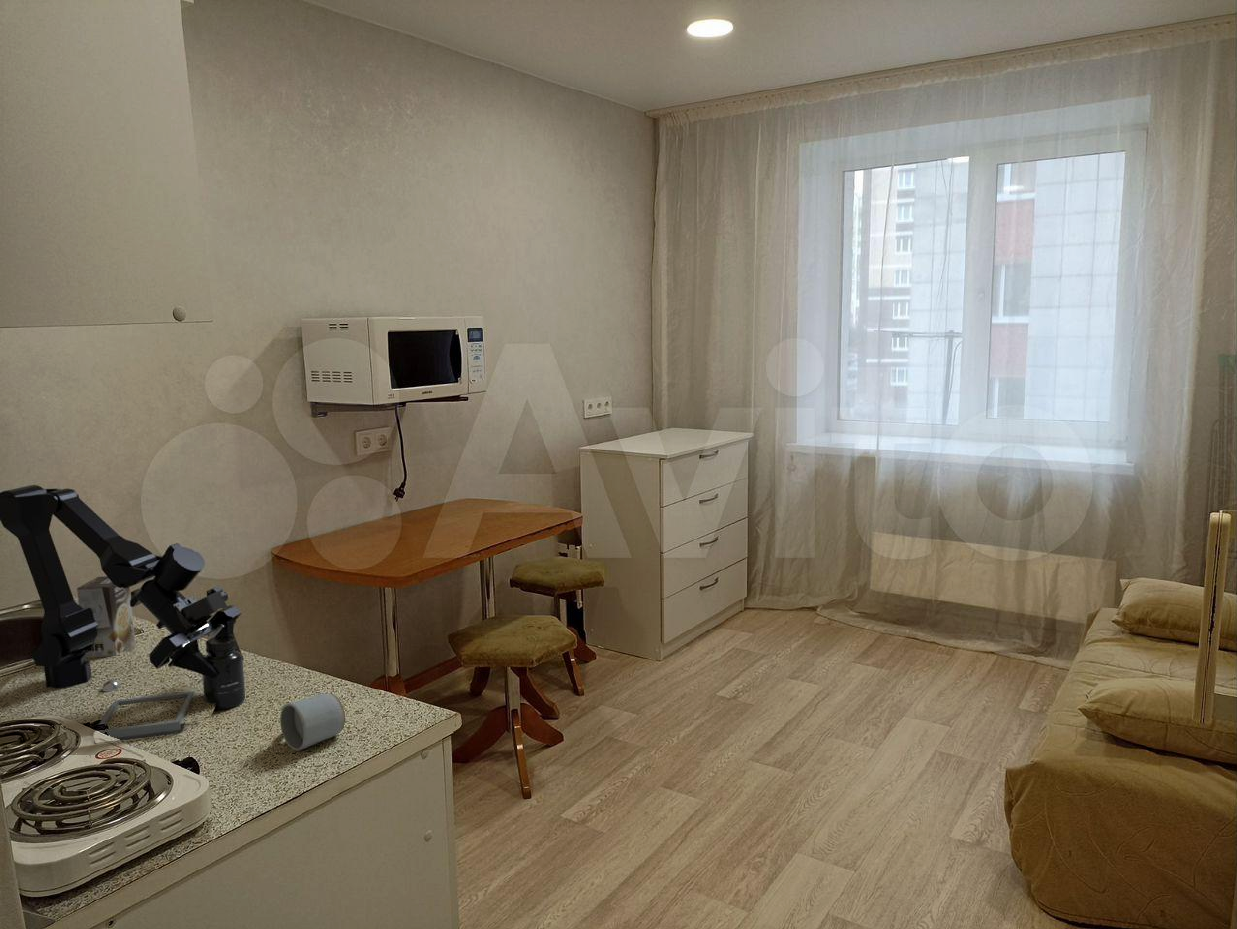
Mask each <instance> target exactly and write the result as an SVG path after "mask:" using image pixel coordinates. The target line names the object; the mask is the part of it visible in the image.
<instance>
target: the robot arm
mask: <svg viewBox="0 0 1237 929" xmlns="http://www.w3.org/2000/svg"><path fill="white" fill-rule="evenodd" d="M53 516H54V517H55V518H56V519H57V520H58V521H59V522H60V523H62V524H63V525H64V526H65V527H66V528H67V529H69V531H71V533H72V534H74V536H76V537H77V538H78V540H80V541H81V542H82V543H83V544H85V546H87V548H88V549H90V550H91V551H92V552H93V553H94V554H95V555H96V556H97V558H98V559H99V563H100V569H101V570H102V571H103V573H104V575H105V576H107V577H108V578H109V579H110V580H111V582H112V583H113V584H114V585H115V586H117V587H119V588H128V587H129V588H130V587H133V586H136V585H139V584H141V583H143V584H142V585H141V586H140V587H139V588H138V589H134V590H132V591H130V598H131V600H130V606H131V607H132V608H135V607H137V606H138V605H141V604H142V605H143V606H144V607H146V609H147V610H148V611H149V612H150V613H151V614H152V615H153V616H154V617H155V618H156V619H157V620H158V622H157V624H155V626H156V627H157V628H158V629H159V630H161V629H164V628H165V629H166V630H167V631H168V632H169V633H170V634H168V635H167V636H164V637H163V638H161V640H160V641H159V642H158V643H157V644H156V646H155V647H154V648H153V649H152V650H151V651H150V652H149V655H148V656H149V657H148V658H149V663H151V664H152V666H154V668H156V670H158V669H160V668H161V667H164V666H166V665H167V666H168V667H170V668H171V667H176V668H181V669H183V670H187V671H191V672H194V673H196V674H200V675H205V676H208V677H211V678H216V677H217V676H218V672H217V671H216V670H215V668H214V667H213V666H212V665H211V663H210V662H209V661H208V660H207V659H206V658H205V655H204V654H203V653H202V651H200V647H199V642H198V640H200V639H202V638H203V637H205V636H208V637H209V638H210V639H211V638H214V637H219V636H232V637H234V638H235V644H236V649H235V650H236V651H238V652H240V653H241V655H242V658H243V661H244V656H243V654H242V651H241V649H240V646H239V644H238V642H237V639H236V636H235V632H234V627H235V624H236V622H237V620H238V619H239V617H240V616H241V615H242V613H243V612H242V611H241V610H240V609H239V608H238V607H237V606H236V605H228V604H227V602H226V601H228V600H229V595H228V593H227V592H226V591H225V589H223V588H222V587H221V586H220V585H216V586H213V587H212V588H211V589H208V590H207V591H206V596H205V597H203V598H201V599H199V600H197V599H196V597H193V596H190V597H185V596H184V595H183V594H182V593H181V591H184V590H186V589H187V588H188V587H189V586H190V585H191V583H193V581H194V579H195V578H196V577H197V576H198V575H199V574H200V573H201V572H202V571H203V569H204V567H205V566H206V565H205V564H206V563H205V559H204V557H203V555H202V554H201V553H200V552H198V551H195V550H194V549H192V548H188V547H184V546H182V545H181V544H180V543H179V542H176V543H174V544H170V545H169V546H168V547H167V548H166V549H165V552H164V553H163V555H162V556H160V555H156V554H154V553H152V551H150V550H149V549H148V548H146V547H145V546H143V545H141V544H140V543H138V542H134V541H132V540H129V539H126V538H124V537H122V536H121V535H119V534H118V532H116V530H115V529H113V528H112V527H111V526H110V525H109V524H108V523H107V522H106V521H105V520H104V519H102V518H101V516H99V515H98V514H97V513H96V512H95V511H94V510H93V509H92V508H91V507H89V506H88V505H87V504H86V503H85V502H84V501H83V500H82V499H81V498H80V495H79V493H78V492H77V491H76V490H75V489H72V488H57V487H55V488H43V487H41V486H40V485H38V484H30V485H26V486H25V485H24V486H21V487H16V488H11V489H7V490H3V491H1V492H0V523H1V524H2V526H3V528H5V529H6V530H7V531H8V532H10V534H12V535H13V536H15V537H16V538H17V540H18V541H19V544H20V547H21V549H22V552H23V555H24V558H25V560H26V563H27V567H28V569H29V572H30V575H31V576H32V578H31V579H32V581H33V583H34V586H35V588H36V592H37V594H38V597H39V599H40V603H41V605H42V608H43V611H44V614H43V617H42V622H41V626H40V632H41V636H42V642H41V643H40V645H39V646H38V647H37V649H36V650H35V651H34V652H33V653H32V655H31V657H32V660H33V662H34V664H35V666H37V667H43V670H44V678H45V686H46V688H53V689H65V688H70V687H74V686H75V687H76V686H78V685H81V684H82V685H83V684H87V683H89V682H90V680H91V679H92V677H93V675H92V668H91V661H89V660H87V658H86V653H87V652H90V651H92V650H93V645H94V641H95V638H96V637H97V628H96V627H98V624H97V623H96V621H95V619H94V616H93V611H92V609H91V608H90V607H87V608H85V609H84V608H82V607H81V606H80V605H79V603H78V602H76V601H75V598H74V594H73V593H72V590H71V587H70V584H69V581H68V579H67V575H66V573H65V570H64V568H63V565H62V563H61V562H62V561H61V559H60V556H59V553H58V551H57V549H56V545H55V543H54V539H53V537H52V533H51V531H50V528H51V523H52V520H53Z"/></svg>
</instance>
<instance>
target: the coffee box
mask: <svg viewBox="0 0 1237 929" xmlns="http://www.w3.org/2000/svg"><path fill="white" fill-rule="evenodd" d="M76 592H77V599H78V600H77V601H78V602H77V603H78V604H79V605H80V606H81V607H82V608H84V609H85V608H87V607H90V608H91V609H92V611H93V616H94V619H95V621H96V623H97V624H98V627H96V628H97V637H96V638H95V641H94V645H93V650H92V651H90V652H87V653H86V659H87V658H104V657H116V656H118V655H120V654H121V653H125V652H131V651H132V650H134V648H136V636H135V628H134V627H135V626H134V619H133V618H134V617H133V610H132V608H133V607H131V606H130V600H131V588H130V587H128V588H119V587H117V586H115V585H114V584H113V583H112V582H111V580H110V579H109V578H108V577H107V575H104V576H97V577H95V578H93V579H91V580H89V581H88V582H86V583H85V584H82V585H80V586H79V587H77V588H76Z"/></svg>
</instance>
